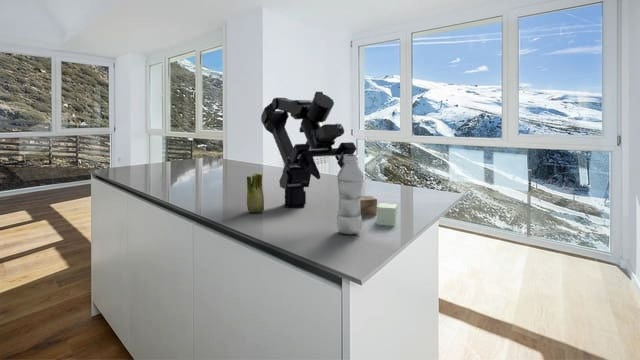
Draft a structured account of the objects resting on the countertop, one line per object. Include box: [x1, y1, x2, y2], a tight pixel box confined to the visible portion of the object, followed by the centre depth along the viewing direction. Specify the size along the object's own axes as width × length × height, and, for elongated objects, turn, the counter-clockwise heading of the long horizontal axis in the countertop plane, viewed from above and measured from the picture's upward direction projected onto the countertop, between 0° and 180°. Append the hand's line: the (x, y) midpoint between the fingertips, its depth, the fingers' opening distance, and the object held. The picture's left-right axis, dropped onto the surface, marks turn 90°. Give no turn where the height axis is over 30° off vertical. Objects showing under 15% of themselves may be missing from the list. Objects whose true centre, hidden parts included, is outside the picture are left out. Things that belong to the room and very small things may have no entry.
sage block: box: [376, 202, 398, 227], centre depth 102 cm, size 5×5×5 cm
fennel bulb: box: [246, 173, 265, 214], centre depth 112 cm, size 6×5×12 cm
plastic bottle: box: [335, 154, 365, 235], centre depth 92 cm, size 6×7×20 cm
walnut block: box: [360, 195, 378, 217], centre depth 112 cm, size 5×5×5 cm
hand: (334, 177), depth 98 cm, fingers open, 9 cm apart
